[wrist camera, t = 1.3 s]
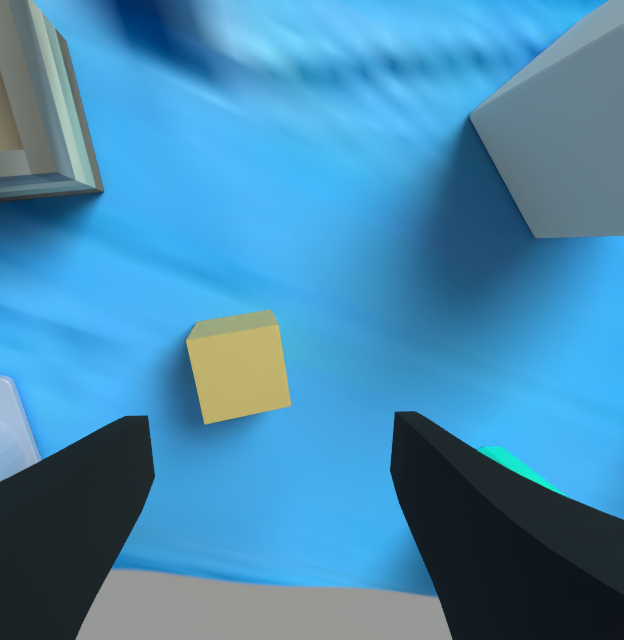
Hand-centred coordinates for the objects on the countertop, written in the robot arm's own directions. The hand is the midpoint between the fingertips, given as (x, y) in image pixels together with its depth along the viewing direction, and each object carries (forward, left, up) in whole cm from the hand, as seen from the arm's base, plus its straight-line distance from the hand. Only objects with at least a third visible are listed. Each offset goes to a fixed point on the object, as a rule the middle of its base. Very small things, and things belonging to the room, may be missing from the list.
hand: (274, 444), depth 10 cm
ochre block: (-1, 0, -10) cm, 10 cm away
